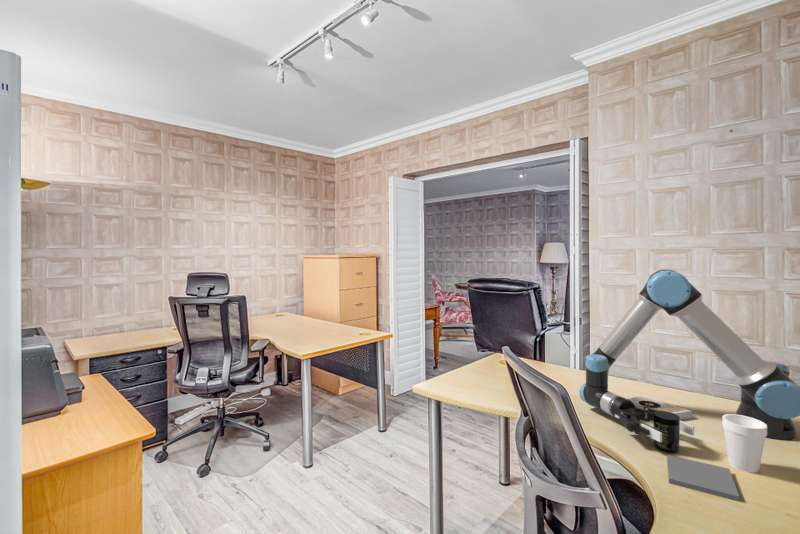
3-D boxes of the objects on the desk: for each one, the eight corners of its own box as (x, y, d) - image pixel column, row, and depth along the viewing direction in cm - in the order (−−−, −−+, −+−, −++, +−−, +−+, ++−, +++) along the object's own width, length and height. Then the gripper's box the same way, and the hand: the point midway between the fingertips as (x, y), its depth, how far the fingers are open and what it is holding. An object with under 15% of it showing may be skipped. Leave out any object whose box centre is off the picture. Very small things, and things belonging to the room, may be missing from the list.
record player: (669, 414, 135) (623, 394, 155) (669, 422, 136) (623, 402, 155) (694, 410, 138) (647, 391, 158) (694, 418, 138) (647, 399, 158)
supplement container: (679, 456, 113) (679, 422, 112) (652, 449, 117) (652, 416, 116) (679, 446, 118) (680, 414, 118) (653, 440, 122) (654, 409, 122)
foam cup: (754, 479, 101) (755, 431, 100) (714, 462, 109) (715, 417, 109) (773, 470, 105) (774, 424, 104) (733, 454, 113) (733, 411, 113)
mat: (729, 473, 104) (729, 468, 104) (739, 501, 92) (739, 496, 92) (667, 458, 112) (667, 454, 112) (668, 482, 100) (668, 478, 100)
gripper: (644, 412, 138) (706, 440, 117) (589, 422, 131) (646, 453, 111) (644, 392, 138) (707, 416, 117) (589, 400, 131) (646, 428, 110)
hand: (677, 434), depth 114 cm, fingers open, 12 cm apart
